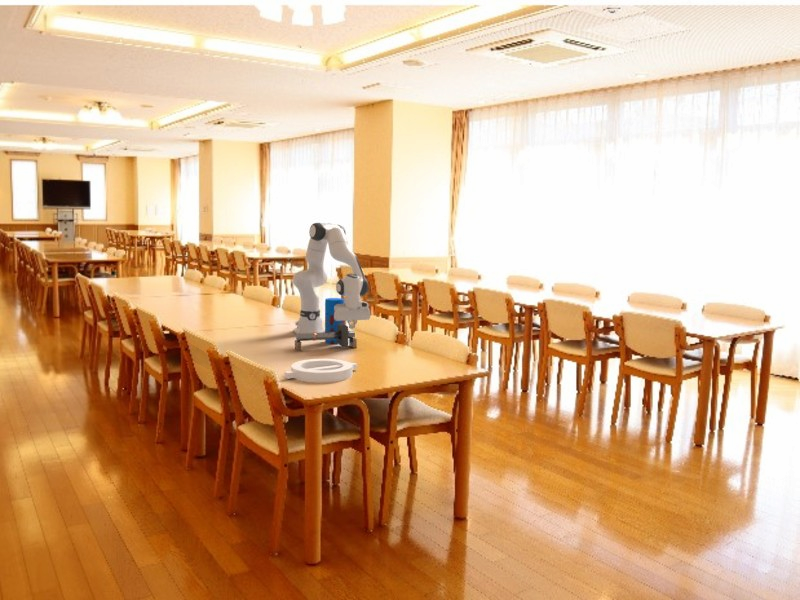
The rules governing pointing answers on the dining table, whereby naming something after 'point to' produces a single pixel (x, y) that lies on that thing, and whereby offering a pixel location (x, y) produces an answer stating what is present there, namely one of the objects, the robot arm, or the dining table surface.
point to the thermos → (331, 317)
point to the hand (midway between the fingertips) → (352, 328)
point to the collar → (343, 335)
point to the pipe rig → (324, 338)
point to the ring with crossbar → (321, 370)
